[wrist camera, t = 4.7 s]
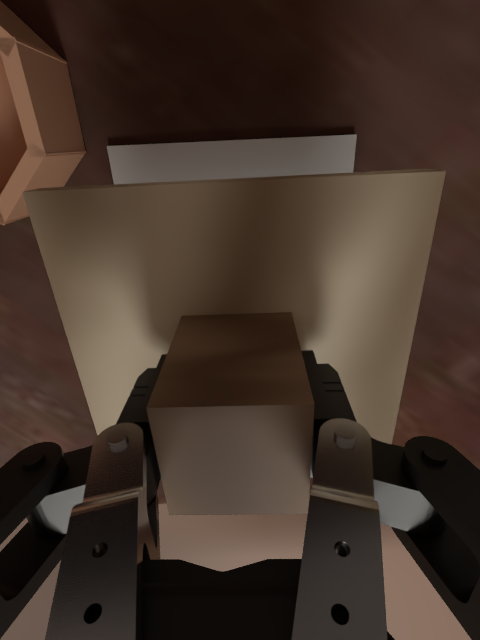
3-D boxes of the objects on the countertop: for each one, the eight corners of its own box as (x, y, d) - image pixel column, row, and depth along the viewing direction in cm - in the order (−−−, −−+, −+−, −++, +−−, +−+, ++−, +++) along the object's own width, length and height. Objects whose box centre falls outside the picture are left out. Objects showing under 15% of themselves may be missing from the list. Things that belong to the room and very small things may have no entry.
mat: (354, 134, 21) (356, 134, 21) (334, 347, 28) (336, 349, 28) (108, 146, 22) (106, 146, 21) (147, 353, 28) (146, 355, 28)
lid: (430, 168, 11) (591, 192, 6) (378, 456, 17) (436, 597, 12) (39, 188, 12) (-132, 225, 7) (117, 460, 18) (61, 597, 12)
